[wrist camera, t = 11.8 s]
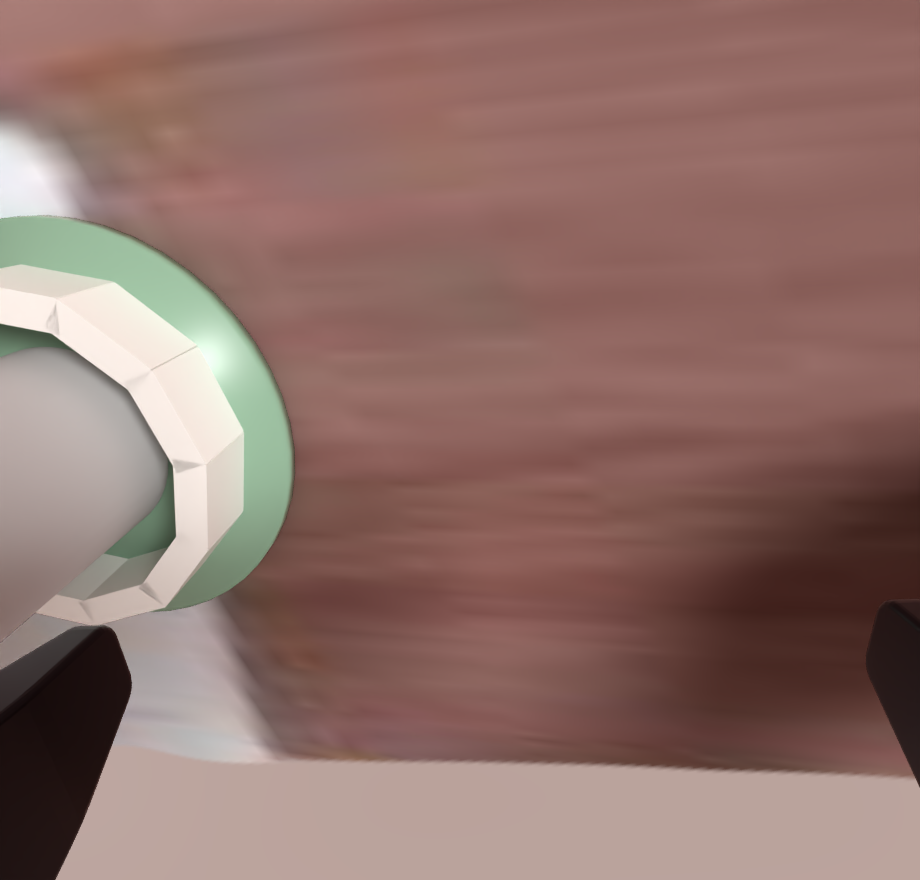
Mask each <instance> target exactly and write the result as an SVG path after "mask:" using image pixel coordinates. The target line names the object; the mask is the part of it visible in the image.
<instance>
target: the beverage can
mask: <svg viewBox="0 0 920 880" xmlns="http://www.w3.org/2000/svg"><path fill="white" fill-rule="evenodd" d="M167 477H168V457H167V455H166V453H165V452H164V450H163V448H162V446H161V445H160V443H159V441H158V440H157V438H156V436H155V435H154V433H153V431H152V430H151V428H150V426H149V424H148V423H147V421H146V419H145V418H144V416H143V414H142V413H141V411H140V409H139V408H138V406H137V404H136V402H135V401H134V399H133V397H132V396H131V394H130V392H129V391H128V390H127V389H126V388H125V387H123V386H122V385H121V384H119V383H118V382H117V381H115V380H114V379H113V378H111V377H110V376H108V375H107V374H106V373H104V372H103V371H102V370H100V369H99V368H98V367H96V366H95V365H94V364H92V363H91V362H89V361H88V360H87V359H85V358H84V357H83V356H81V355H80V354H79V353H77V352H75V351H71V350H67V349H62V348H55V347H33V348H28V349H23V350H19V351H16V352H13V353H10V354H8V355H5V356H2V357H0V643H1V642H2V641H3V640H4V639H5V638H6V637H8V636H9V635H10V634H11V633H12V632H13V631H14V630H16V629H17V628H18V627H19V626H20V625H21V624H23V623H24V622H25V621H26V620H27V619H28V618H29V617H31V616H32V615H33V614H34V613H35V612H36V611H38V610H39V609H40V608H41V607H42V606H43V605H45V604H46V603H47V602H48V601H49V600H50V599H51V598H53V597H54V596H55V595H56V594H57V593H58V592H60V591H61V590H62V589H63V588H64V587H65V586H67V585H68V584H69V583H70V582H71V581H72V580H73V579H75V578H76V577H77V576H78V575H79V574H80V573H82V572H83V571H84V570H85V569H86V568H87V567H89V566H90V565H91V564H92V563H93V562H94V561H95V560H97V559H98V558H99V557H100V556H101V555H102V554H104V553H105V552H106V551H107V550H108V549H109V548H110V547H112V546H113V545H114V544H115V543H116V542H117V541H119V540H120V539H121V538H122V537H123V536H124V535H126V534H127V533H128V532H129V531H130V530H131V529H132V528H134V527H135V526H136V525H137V524H138V523H139V522H141V521H142V520H143V519H144V518H145V517H146V516H147V515H149V514H150V513H151V511H152V510H153V509H154V508H155V506H156V505H157V504H158V502H159V500H160V498H161V496H162V494H163V492H164V489H165V486H166V482H167Z"/></svg>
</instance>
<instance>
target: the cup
mask: <svg viewBox="0 0 920 880" xmlns="http://www.w3.org/2000/svg"><path fill="white" fill-rule="evenodd" d="M33 347H55V348H62V349H67V350H71V351H75V352H77V353H79V354H80V355H81V356H83V357H84V358H85V359H87V360H88V361H89V362H91V363H92V364H94V365H95V366H96V367H98V368H99V369H100V370H102V371H103V372H104V373H106V374H107V375H108V376H110V377H111V378H113V379H114V380H115V381H117V382H118V383H119V384H121V385H122V386H123V387H125V388H126V389H127V390H128V391H129V392H130V394H131V396H132V397H133V399H134V401H135V402H136V404H137V406H138V408H139V409H140V411H141V413H142V414H143V416H144V418H145V419H146V421H147V423H148V424H149V426H150V428H151V430H152V431H153V433H154V435H155V436H156V438H157V440H158V441H159V443H160V445H161V446H162V448H163V450H164V452H165V453H166V455H167V457H168V477H167V482H166V486H165V489H164V492H163V494H162V496H161V498H160V500H159V502H158V504H157V505H156V506H155V508H154V509H153V510H152V511H151V513H150V514H149V515H147V516H146V517H145V518H144V519H143V520H142V521H141V522H139V523H138V524H137V525H136V526H135V527H134V528H132V529H131V530H130V531H129V532H128V533H127V534H126V535H124V536H123V537H122V538H121V539H120V540H119V541H117V542H116V543H115V544H114V545H113V546H112V547H110V548H109V549H108V550H107V551H106V552H105V553H104V554H102V555H101V556H100V557H99V558H98V559H97V560H95V561H94V562H93V563H92V564H91V565H90V566H89V567H87V568H86V569H85V570H84V571H83V572H82V573H80V574H79V575H78V576H77V577H76V578H75V579H73V580H72V581H71V582H70V583H69V584H68V585H67V586H65V587H64V588H63V589H62V590H61V591H60V592H58V593H57V594H56V595H55V596H54V597H53V598H51V599H50V600H49V601H48V602H47V603H46V604H45V605H43V606H42V607H41V608H40V609H39V610H38V611H36V612H35V613H38V614H42V615H47V616H51V617H55V618H60V619H64V620H69V621H73V622H78V623H82V624H86V625H91V626H97V625H101V624H105V623H108V622H112V621H116V620H120V619H123V618H127V617H131V616H135V615H139V614H142V613H146V612H156V611H171V610H176V609H181V608H186V607H191V606H194V605H197V604H200V603H203V602H206V601H209V600H211V599H213V598H215V597H217V596H219V595H221V594H223V593H225V592H227V591H228V590H230V589H231V588H232V587H234V586H235V585H236V584H238V583H239V582H241V581H242V580H243V579H245V577H246V576H247V575H248V574H249V573H250V572H251V571H252V570H253V569H254V568H255V567H256V566H257V565H258V564H259V563H260V561H261V560H262V559H263V557H264V556H265V555H266V553H267V552H268V550H269V549H270V547H271V546H272V544H273V543H274V541H275V540H276V539H277V537H278V535H279V533H280V530H281V528H282V526H283V524H284V522H285V520H286V517H287V514H288V510H289V506H290V503H291V499H292V495H293V486H294V478H295V451H294V443H293V437H292V430H291V424H290V420H289V417H288V413H287V410H286V407H285V403H284V400H283V396H282V394H281V392H280V389H279V387H278V385H277V382H276V380H275V378H274V375H273V373H272V371H271V369H270V367H269V365H268V363H267V362H266V360H265V358H264V356H263V355H262V353H261V351H260V350H259V348H258V346H257V344H256V343H255V341H254V340H253V338H252V337H251V336H250V334H249V333H248V332H247V330H246V329H245V328H244V326H243V325H242V323H241V322H240V321H239V319H238V318H237V317H236V316H235V314H234V313H233V312H232V311H231V310H230V309H229V308H228V307H227V306H226V305H225V304H224V303H223V301H222V300H221V299H220V298H219V297H218V296H217V295H216V294H215V293H214V292H213V291H212V290H211V289H210V288H209V287H207V286H206V285H205V284H204V283H203V282H202V281H200V280H199V279H198V278H197V277H196V276H195V275H194V274H192V273H191V272H190V271H189V270H187V269H186V268H185V267H183V266H182V265H180V264H179V263H177V262H176V261H175V260H173V259H172V258H170V257H169V256H167V255H166V254H164V253H163V252H161V251H159V250H157V249H156V248H154V247H152V246H150V245H148V244H146V243H144V242H143V241H141V240H139V239H137V238H135V237H133V236H130V235H128V234H125V233H123V232H120V231H118V230H115V229H112V228H110V227H107V226H105V225H101V224H97V223H93V222H89V221H85V220H81V219H77V218H69V217H60V216H51V215H37V216H17V217H9V218H2V219H0V357H2V356H5V355H8V354H10V353H13V352H16V351H19V350H23V349H28V348H33Z"/></svg>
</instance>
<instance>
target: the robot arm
mask: <svg viewBox="0 0 920 880" xmlns="http://www.w3.org/2000/svg"><path fill="white" fill-rule="evenodd" d="M866 667H867V671H868V675H869V678H870V680H871V682H872V684H873V687H874V689H875V691H876V693H877V695H878V698H879V700H880V702H881V704H882V706H883V708H884V711H885V713H886V715H887V717H888V719H889V722H890V724H891V726H892V728H893V730H894V732H895V735H896V737H897V739H898V741H899V743H900V746H901V748H902V750H903V752H904V754H905V756H906V759H907V761H908V763H909V765H910V767H911V770H912V772H913V774H914V776H915V778H916V780H917V783H918V785H919V787H920V599H893V600H887V601H884V602H883V603H881V605H880V606H879V607H878V610H877V613H876V617H875V621H874V625H873V629H872V633H871V637H870V641H869V645H868V649H867V653H866ZM131 689H132V680H131V674H130V671H129V669H128V666H127V663H126V660H125V658H124V655H123V652H122V649H121V647H120V644H119V641H118V639H117V636H116V634H115V632H114V631H113V630H112V629H111V628H110V627H108V626H104V625H100V626H78V627H74V628H71V629H69V630H67V631H66V632H64V633H62V634H61V635H59V636H57V637H55V638H54V639H52V640H50V641H49V642H47V643H45V644H44V645H42V646H40V647H39V648H37V649H35V650H34V651H32V652H30V653H29V654H27V655H25V656H24V657H22V658H20V659H18V660H17V661H15V662H13V663H12V664H10V665H8V666H7V667H5V668H3V669H2V670H0V880H55V879H56V877H57V875H58V873H59V871H60V869H61V867H62V865H63V863H64V861H65V859H66V857H67V854H68V853H69V850H70V848H71V846H72V844H73V842H74V840H75V838H76V835H77V833H78V831H79V829H80V827H81V824H82V822H83V820H84V817H85V815H86V812H87V810H88V807H89V805H90V802H91V800H92V797H93V795H94V792H95V789H96V787H97V784H98V781H99V778H100V775H101V773H102V770H103V768H104V765H105V762H106V760H107V757H108V754H109V751H110V749H111V746H112V744H113V741H114V738H115V736H116V733H117V730H118V728H119V725H120V722H121V719H122V717H123V714H124V711H125V709H126V706H127V703H128V701H129V698H130V694H131Z"/></svg>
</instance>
